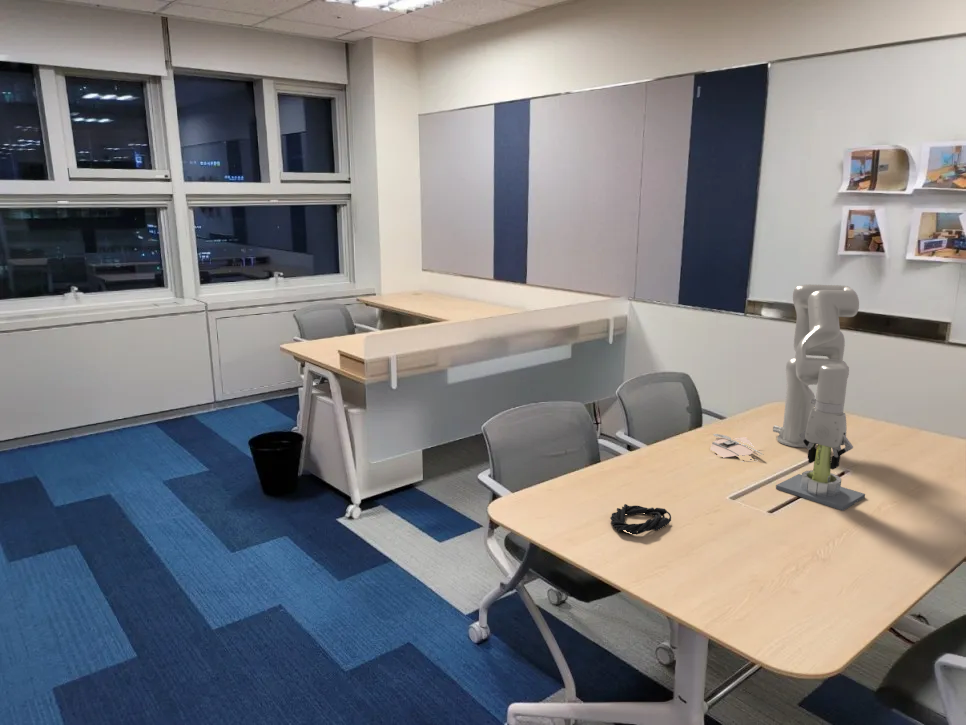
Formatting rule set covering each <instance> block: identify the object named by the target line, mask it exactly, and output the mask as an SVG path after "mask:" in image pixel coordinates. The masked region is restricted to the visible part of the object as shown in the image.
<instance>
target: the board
mask: <svg viewBox="0 0 966 725" xmlns="http://www.w3.org/2000/svg"><path fill="white" fill-rule="evenodd" d="M801 478H802V473H801V474H800V473H797V474H795V475H794V476H792V477H790V478H788V479H786V480H783V481H782V482H780V483H778V484H776V485H775V489H776V490H779V491H780V492H785V493H787V494H790V495H794V496H797V497H800V498H803V499H806V500H809V501H812V502H815V503H818V504H821V505H824V506H827V507H831V508H833V509H837V510H839V511H845V510H846V509H848V508H850V507H852V506H854V505H855V504H857V503H859V502H860V501H862V500H863V499H865V497H866V494H865V493H863V492H861V491H857V490H853V489H850V488H847V487H844V486H841V488H840V494H838V495H837V496H832V497H827V496H826V497H824V496H817V495H813V494H810V493H807V492H805V491H804V490H802V489H801Z"/></svg>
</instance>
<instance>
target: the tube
mask: <svg viewBox="0 0 966 725" xmlns="http://www.w3.org/2000/svg"><path fill="white" fill-rule="evenodd" d="M816 449H817V450H816V456H815V461H814V462H813V463H814V464H813V475H812V480H816V481H819V482H830V473H831V470H832V469H831V468H830V467H831V458H832V448H831V447H827V446H823V445H819V444H817V445H816Z"/></svg>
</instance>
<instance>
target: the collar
mask: <svg viewBox="0 0 966 725" xmlns="http://www.w3.org/2000/svg"><path fill="white" fill-rule="evenodd" d="M801 475H802V478H801V489H802V490H804V491H805V492H807V493H810V494H813V495H817V496H824V497H826V496H827V497H832V496H837V495H838V494H840V488H841V487H842V486H841V485H842V479H841V477H840V476H838V475H837V474H834V473H832V472H830V482H819V481H816V480H812V475H813V470H812V469H811V470H806V471H803V472H801Z"/></svg>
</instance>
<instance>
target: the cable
mask: <svg viewBox="0 0 966 725" xmlns="http://www.w3.org/2000/svg"><path fill="white" fill-rule="evenodd" d="M641 513H645V514H647V515H646V516H653V515H654V516H653V518H649V519H647V520H645V521H644V522H640V523H626V521H625V520H626V515H625V514H627V515H628V516H637V515H639V514H641ZM665 514H667V515H668V516H669V518H668V517H666V516H665ZM609 518H610V520H611V524H612V525H614V526H613V527H614V528H615V527H616V528H617V529H618V530H617V529H616V528H615V529H616V530H617V532H618V531H619V532H620V531H622V530H626V531H627V532H630V533H632V534H636V535H640V534H644V532H650V531H656V530H657V531H658V529H659V530H661V529H663V528H664V527H663V526H665V525H667V524H668V525H669V524H670V522H671V521H672V515H671V513H670V512H669V511H667V509H665V508H661V507H643V506H642V505H641V506H640V505H628V504H626V503H625V504H624V505H623V506H621V508H618V507H617V508H616V512H613V513H611V516H610V517H609ZM668 525H667V526H668ZM662 527H663V528H662ZM665 527H666V526H665ZM660 528H661V529H660Z"/></svg>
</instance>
